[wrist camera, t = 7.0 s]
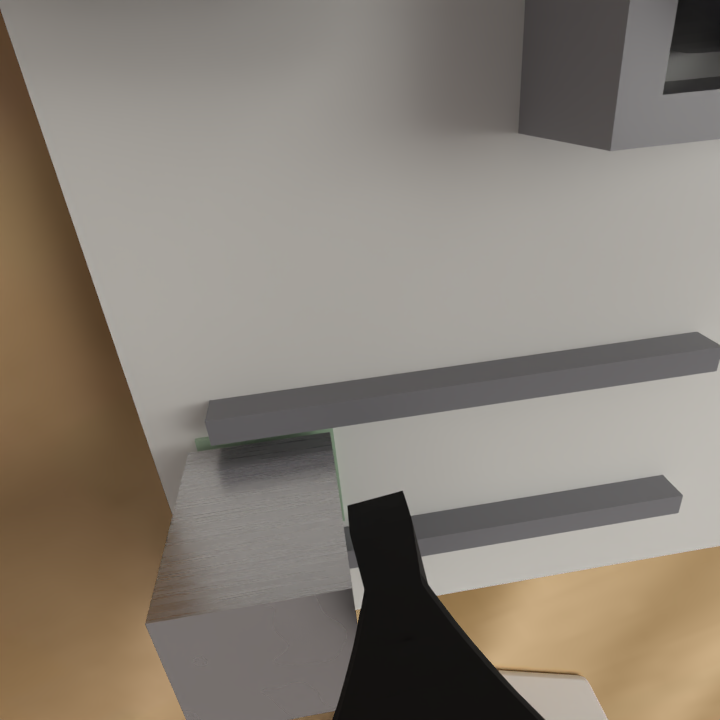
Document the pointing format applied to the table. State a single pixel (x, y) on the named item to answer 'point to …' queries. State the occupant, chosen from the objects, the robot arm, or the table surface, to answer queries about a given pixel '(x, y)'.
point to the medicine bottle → (557, 695)
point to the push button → (696, 26)
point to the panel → (410, 254)
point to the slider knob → (256, 584)
